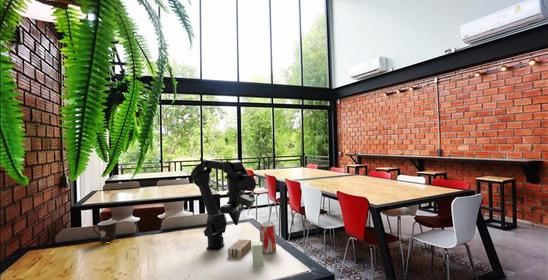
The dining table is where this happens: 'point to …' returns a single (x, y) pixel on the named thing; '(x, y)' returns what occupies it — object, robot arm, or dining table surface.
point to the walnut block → (239, 248)
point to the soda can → (268, 237)
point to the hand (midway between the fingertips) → (236, 224)
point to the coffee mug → (106, 231)
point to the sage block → (257, 253)
